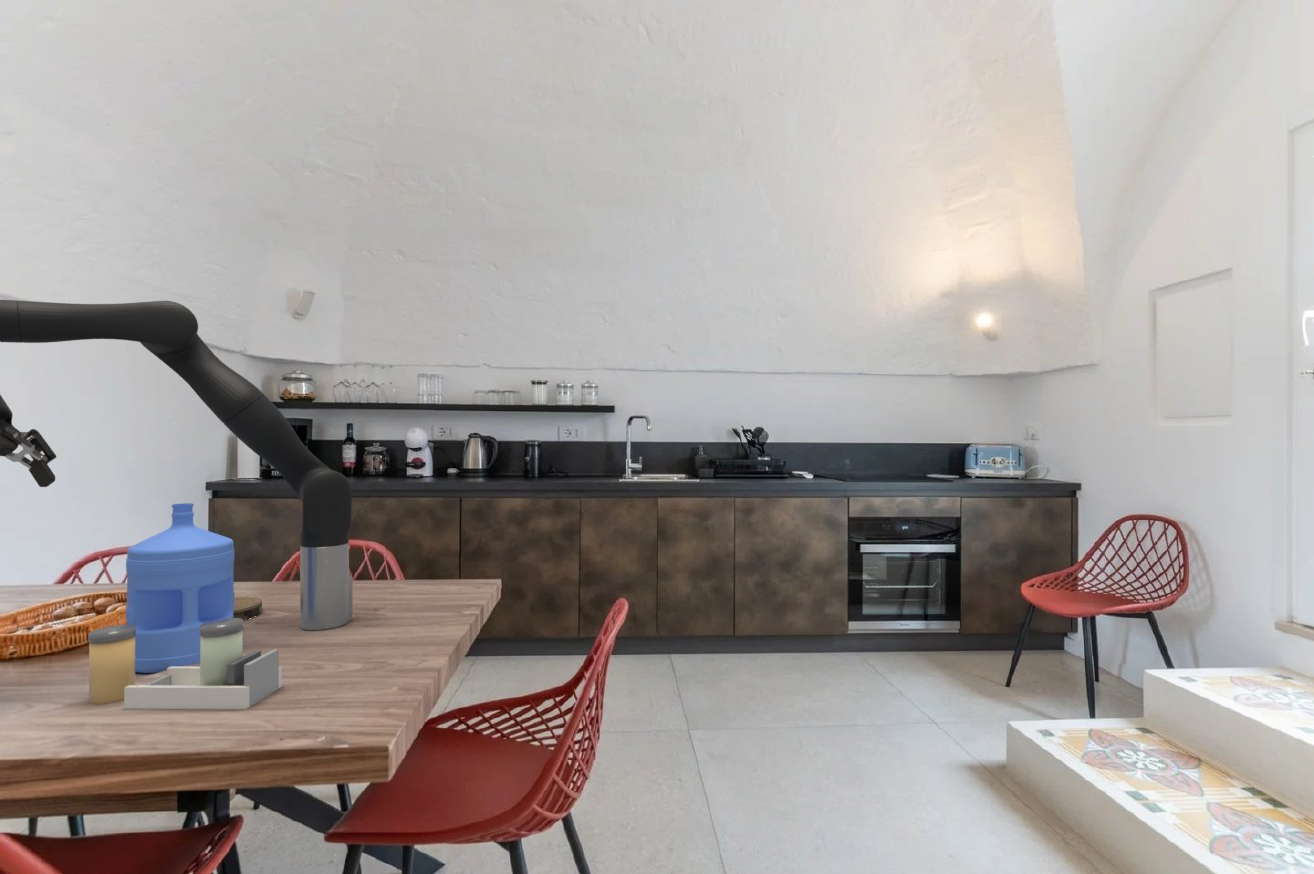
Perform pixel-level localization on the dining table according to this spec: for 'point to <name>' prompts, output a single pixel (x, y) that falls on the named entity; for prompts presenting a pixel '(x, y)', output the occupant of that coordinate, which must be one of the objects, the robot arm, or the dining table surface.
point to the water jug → (177, 591)
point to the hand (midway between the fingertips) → (20, 483)
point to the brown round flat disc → (246, 607)
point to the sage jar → (219, 649)
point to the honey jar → (111, 662)
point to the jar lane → (207, 688)
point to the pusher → (239, 669)
